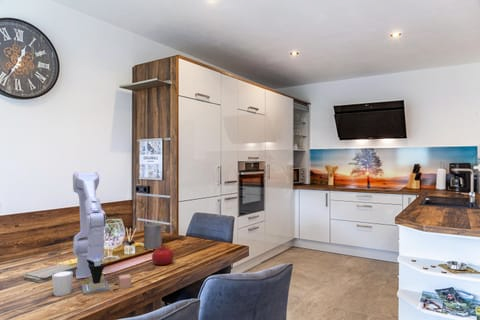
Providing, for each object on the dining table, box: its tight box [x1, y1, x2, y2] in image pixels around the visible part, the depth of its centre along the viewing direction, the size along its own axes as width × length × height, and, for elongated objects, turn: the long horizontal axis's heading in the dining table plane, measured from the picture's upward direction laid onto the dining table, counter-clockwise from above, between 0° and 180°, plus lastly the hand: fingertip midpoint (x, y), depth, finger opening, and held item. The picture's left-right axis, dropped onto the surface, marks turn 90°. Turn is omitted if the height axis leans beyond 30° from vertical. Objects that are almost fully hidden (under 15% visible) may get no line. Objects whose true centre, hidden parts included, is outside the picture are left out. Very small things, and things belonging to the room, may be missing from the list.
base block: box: [88, 272, 105, 290], centre depth 123 cm, size 5×5×4 cm
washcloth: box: [23, 263, 77, 284], centre depth 138 cm, size 12×18×3 cm, turn 154°
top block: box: [118, 273, 132, 290], centre depth 124 cm, size 4×4×4 cm
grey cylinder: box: [51, 271, 74, 297], centre depth 118 cm, size 7×7×7 cm
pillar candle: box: [143, 222, 163, 250], centre depth 182 cm, size 10×10×15 cm
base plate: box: [81, 280, 111, 296], centre depth 123 cm, size 10×9×1 cm
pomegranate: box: [151, 243, 174, 266], centre depth 154 cm, size 10×10×9 cm
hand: (95, 280), depth 123 cm, fingers open, 7 cm apart
